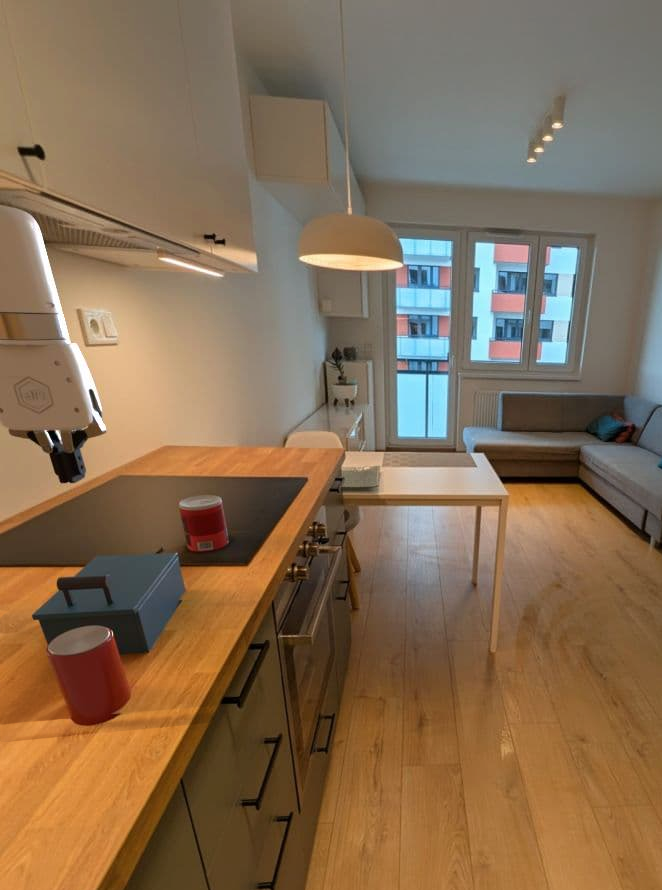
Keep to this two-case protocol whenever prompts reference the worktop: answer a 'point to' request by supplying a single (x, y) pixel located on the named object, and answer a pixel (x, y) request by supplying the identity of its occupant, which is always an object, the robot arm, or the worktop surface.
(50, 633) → the open box
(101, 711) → the can
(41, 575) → the worktop surface
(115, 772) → the worktop surface
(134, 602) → the lid
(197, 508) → the canned food
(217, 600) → the worktop surface
